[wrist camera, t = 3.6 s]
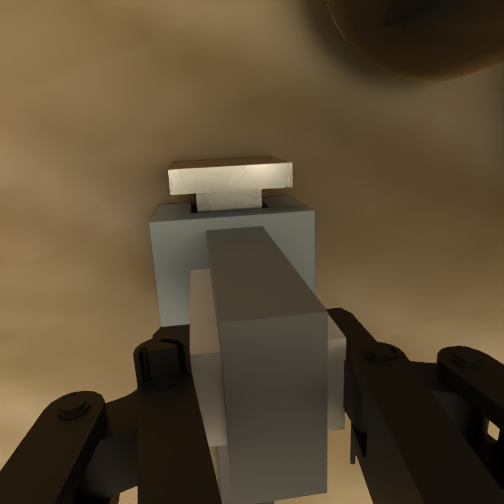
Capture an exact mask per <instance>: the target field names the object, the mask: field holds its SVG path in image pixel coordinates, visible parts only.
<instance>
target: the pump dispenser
mask: <svg viewBox="0 0 504 504" xmlns="http://www.w3.org/2000/svg"><path fill="white" fill-rule="evenodd" d="M326 3H327V6H328V9H329V11H330V14H331V16H332V19H333V20H334V22H335V24H336V26H337V28H338V29H339V31H340V32H341V34H342V35H343V37H344V38H345V39H346V40H347V42H348V43H349V44H350V45H351V46H352V47H353V49H354V50H355V51H356V52H357V53H358V54H359V55H360V56H362V57H363V58H364V59H365V60H366V61H368V62H369V63H370V64H372V65H373V66H375V67H376V68H378V69H380V70H382V71H383V72H385V73H388V74H390V75H392V76H395V77H398V78H401V79H405V80H410V81H417V82H437V81H445V80H450V79H455V78H459V77H463V76H467V75H470V74H474V73H477V72H479V71H482V70H485V69H487V68H490V67H492V66H494V65H497V64H499V63H501V62H504V0H326Z"/></svg>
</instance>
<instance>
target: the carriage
mask: <svg viewBox="0 0 504 504" xmlns="http://www.w3.org/2000/svg"><path fill="white" fill-rule="evenodd" d="M149 228H150V236H151V245H152V253H153V262H154V270H155V279H156V287H157V296H158V304H159V313H160V321H161V327H165V326H175V325H185V324H190V270H198V269H210V275H211V282H212V290H213V298H214V305H215V313H216V320H217V328H218V336H219V343H220V351H221V364H222V377H223V390H224V404H225V417H226V430H227V444H228V445H226V446H227V455H228V464H229V474H230V483H231V492H232V501H233V504H257V503H263V502H270V501H276V500H282V499H289V498H295V497H302V496H308V495H315V494H321V493H327V403H328V311H327V310H326V309H325V307H324V306H323V305H322V303H321V302H320V301H319V300H318V298H317V297H316V296H315V211H314V210H313V209H311V208H310V207H308V206H307V205H303V204H301V203H299V202H298V201H296V200H295V199H293V198H292V197H290V196H279V197H264V198H262V208H256V209H242V210H227V211H213V212H199V213H192V209H191V202H190V203H175V204H160V205H159V207H158V209H157V211H156V213H155V216H152V217H151V219H150V221H149Z"/></svg>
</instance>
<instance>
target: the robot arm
mask: <svg viewBox="0 0 504 504" xmlns="http://www.w3.org/2000/svg"><path fill="white" fill-rule="evenodd" d="M326 310H327V311H328V403H327V431H332V430H339V429H344V424H345V412H346V413H347V415H348V417H349V419H350V421H351V450H350V461H351V464H355V456H356V455H357V458H358V461H359V464H360V467H361V470H362V472H363V475H364V478H365V481H366V484H367V487H368V490H369V493H370V496H371V499H372V502H373V504H504V365H503V364H502V363H500V362H499V361H497V360H495V359H494V358H492V357H491V356H489V355H487V354H485V353H483V352H481V351H479V350H475V349H472V348H470V347H465V346H463V347H462V346H454V347H446V348H443V349H441V350H440V351H439V352H438V353H437V363H425V362H414V361H409V359H408V358H407V356H406V355H405V354H404V353H403V352H402V351H401V350H400V349H399V348H397V347H395V346H393V345H390V344H386V343H382V342H377V341H376V340H375V339H374V338H373V337H372V336H371V334H370V333H369V332H368V331H367V330H366V329H365V328H363V325H362V324H361V323H360V322H358V320H357V319H356V318H355V316H354V315H353V314H352V313H350V312H348V311H346V310H344V309H342V308H332V309H326ZM133 356H134V364H135V371H136V378H137V390H135V391H134V392H133V393H131V394H129V395H127V396H125V397H122V398H120V399H117V400H114V401H111V402H108V403H105V400H104V398H103V397H102V395H101V394H99V393H96V392H94V391H80V392H73V393H69V394H66V395H64V396H62V397H60V398H58V399H57V400H55V401H53V402H52V403H50V404H49V405H48V406H47V407H46V408H45V409H44V411H43V412H42V413H41V415H40V416H39V418H38V419H37V420H36V422H35V423H34V425H33V426H32V427H31V429H30V430H29V432H28V433H27V434H26V436H25V437H24V439H23V440H22V441H21V443H20V444H19V446H18V447H17V448H16V450H15V451H14V453H13V454H12V455H11V457H10V458H9V460H8V461H7V462H6V464H5V465H4V467H3V468H2V469H1V471H0V504H118V502H119V495H120V493H121V492H123V491H126V490H128V489H131V488H133V487H135V486H138V504H222V501H221V497H220V493H219V488H218V484H217V480H216V475H215V471H214V467H213V463H212V458H211V454H210V450H209V447H214V446H222V445H228V444H227V430H226V417H225V404H224V390H223V377H222V364H221V351H220V343H219V336H218V328H217V320H216V313H215V305H214V298H213V290H212V282H211V275H210V269H198V270H190V324H185V325H175V326H165V327H160V328H159V330H158V331H157V332H156V333H155V334H154V335H153V338H152V339H150V340H148V341H146V342H143V343H141V344H140V345H139V346H138V347H137V348H135V351H134V353H133ZM489 420H490V421H491V422H492V423H493V424H495V425H496V426H497V427H498V428H499V429H500V432H499V438H498V441H497V440H495V439H494V438H492V437H491V436H490V435H489V434H488V425H489Z"/></svg>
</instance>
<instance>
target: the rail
mask: <svg viewBox="0 0 504 504" xmlns="http://www.w3.org/2000/svg"><path fill="white" fill-rule="evenodd" d="M168 174H169V184H170V194H171V195H179V194H194V193H196V201H197V213H199V212H213V211H227V210H242V209H256V208H262V191H261V189H271V188H287V187H293V182H292V162H288V161H285V160H281V159H278V158H275V157H271V156H266V157H248V158H230V159H212V160H194V161H176V162H173V163H172V165H171V166H170V168H169V169H168ZM217 452H218V464H219V476H220V488H221V499H222V504H233V501H232V492H231V483H230V474H229V464H228V455H227V446H226V445H222V446H217ZM257 504H274V501H270V502H263V503H257Z"/></svg>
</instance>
